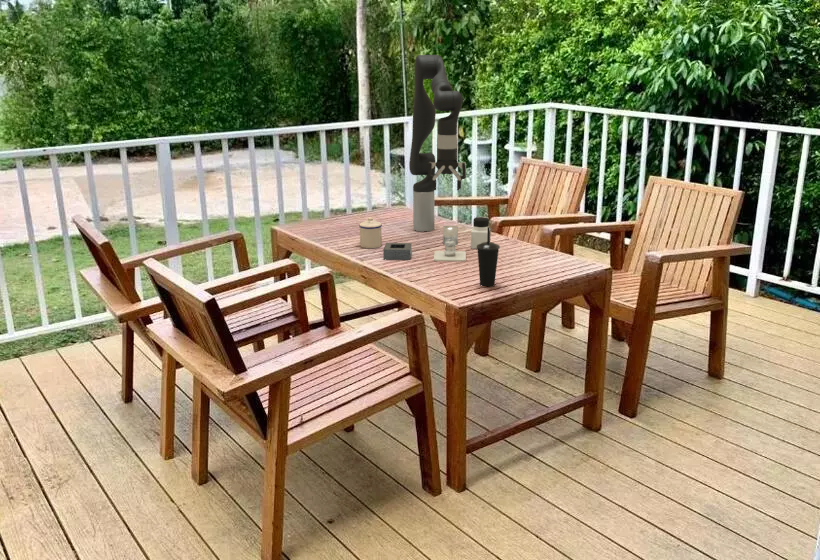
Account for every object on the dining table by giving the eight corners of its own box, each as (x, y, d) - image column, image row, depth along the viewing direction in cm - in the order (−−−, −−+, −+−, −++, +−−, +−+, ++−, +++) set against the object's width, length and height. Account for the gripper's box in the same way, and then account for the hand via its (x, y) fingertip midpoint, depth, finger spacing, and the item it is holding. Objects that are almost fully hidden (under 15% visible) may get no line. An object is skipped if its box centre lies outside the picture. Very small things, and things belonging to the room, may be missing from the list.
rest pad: (434, 252, 288) (434, 250, 288) (465, 252, 287) (465, 251, 287) (433, 261, 277) (433, 259, 277) (465, 261, 276) (465, 259, 276)
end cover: (442, 253, 285) (443, 225, 281) (457, 253, 284) (458, 225, 281) (442, 257, 279) (442, 228, 276) (457, 257, 279) (457, 228, 276)
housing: (386, 252, 288) (385, 242, 287) (411, 252, 288) (411, 242, 287) (383, 259, 279) (383, 249, 278) (409, 260, 278) (409, 249, 277)
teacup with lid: (386, 246, 297) (386, 218, 294) (367, 250, 292) (367, 221, 289) (370, 240, 307) (369, 212, 303) (351, 243, 301) (350, 216, 298)
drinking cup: (475, 288, 246) (476, 229, 240) (476, 281, 253) (477, 224, 247) (498, 289, 245) (499, 230, 239) (499, 282, 252) (500, 224, 246)
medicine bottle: (488, 249, 292) (489, 219, 288) (470, 248, 293) (471, 219, 289) (490, 245, 298) (491, 215, 295) (472, 244, 300) (473, 215, 296)
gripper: (466, 145, 275) (465, 188, 281) (428, 144, 276) (428, 187, 281) (466, 148, 268) (465, 192, 274) (427, 148, 269) (427, 191, 274)
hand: (446, 189), depth 278 cm, fingers open, 8 cm apart
